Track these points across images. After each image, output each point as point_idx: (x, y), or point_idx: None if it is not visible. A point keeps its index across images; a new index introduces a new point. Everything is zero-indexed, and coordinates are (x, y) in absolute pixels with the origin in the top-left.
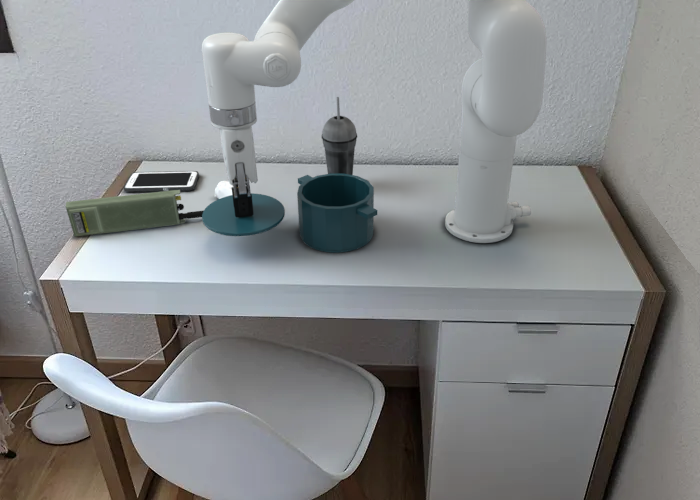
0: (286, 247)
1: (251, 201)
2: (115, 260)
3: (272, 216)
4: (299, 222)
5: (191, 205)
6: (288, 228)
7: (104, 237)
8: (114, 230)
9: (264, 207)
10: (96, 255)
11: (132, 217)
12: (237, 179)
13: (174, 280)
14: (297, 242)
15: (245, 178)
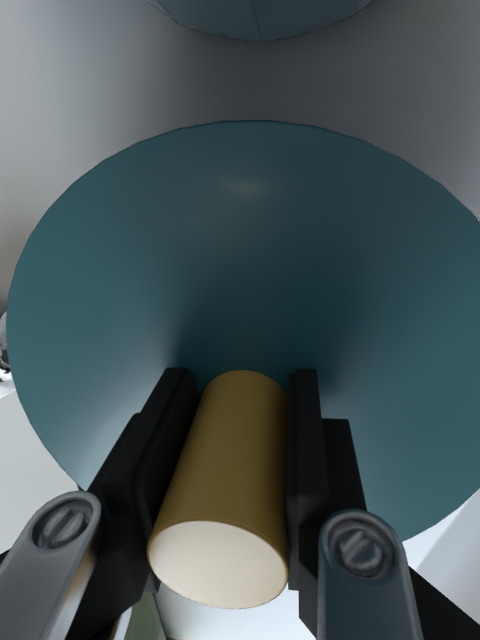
0: (360, 138)
1: (322, 448)
2: (290, 614)
3: (351, 234)
4: (270, 9)
5: (5, 461)
6: (172, 113)
7: (178, 621)
8: (156, 614)
9: (198, 282)
10: (257, 636)
11: (135, 624)
12: (78, 632)
13: (446, 528)
14: (325, 66)
15: (75, 605)
